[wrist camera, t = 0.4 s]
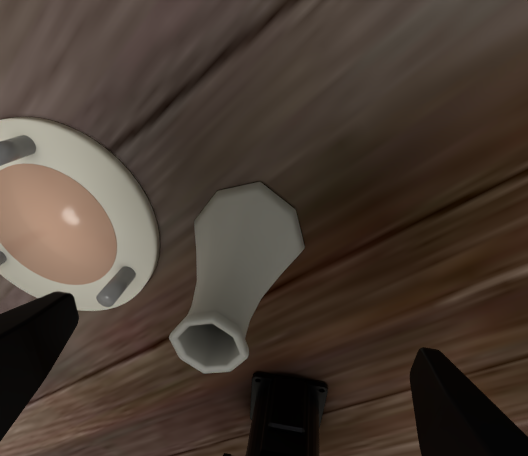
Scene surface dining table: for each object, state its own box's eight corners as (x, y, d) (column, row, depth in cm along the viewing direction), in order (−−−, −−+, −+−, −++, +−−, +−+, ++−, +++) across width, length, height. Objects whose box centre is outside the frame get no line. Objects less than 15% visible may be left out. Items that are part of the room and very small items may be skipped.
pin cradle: (168, 313, 27) (147, 352, 23) (2, 290, 28) (-42, 323, 25) (146, 126, 20) (110, 142, 16) (-75, 107, 21) (-152, 118, 18)
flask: (238, 289, 25) (196, 418, 16) (177, 214, 22) (89, 318, 14) (323, 250, 22) (328, 379, 13) (264, 160, 20) (224, 246, 11)
